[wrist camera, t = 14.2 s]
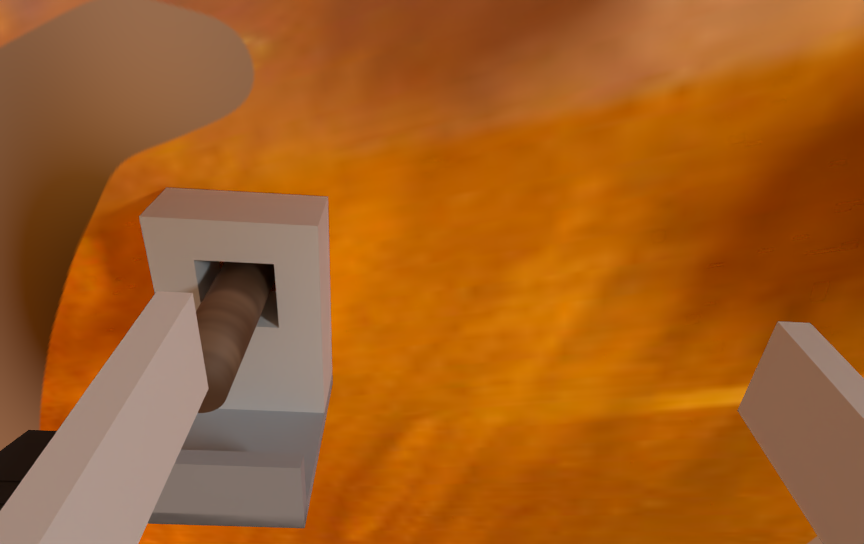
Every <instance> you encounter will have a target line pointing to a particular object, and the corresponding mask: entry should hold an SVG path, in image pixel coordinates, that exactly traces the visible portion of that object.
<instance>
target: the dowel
mask: <svg viewBox="0 0 864 544" xmlns="http://www.w3.org/2000/svg"><path fill="white" fill-rule="evenodd" d="M274 282H275V271H274V264H262V263H242V262H224V264H223V266H222V267H221V269H220V271H219V273H218V274H217V276H216V278H215V279H214V281H213V283H212V285H211V286H210V288H209V290H208V292H207V293H206V295H205V297H204V298H203V300H202V302H201V304H200V305H199V307H198V309H197V311H196V316H197V322H198V328H199V334H200V340H201V346H202V352H203V358H204V364H205V370H206V376H207V382H208V388H209V389H208V391H207V393H206V395H205V398H204V400H203V402H202V404H201V406H200V409H199V411H198V413H207V412H211V411H214V410H216V409H218V408H219V407H221V406H222V405H223V404H224V402H225V401H226V399H227V396H228V394H229V391H230V389H231V386H232V384H233V382H234V379H235V377H236V374H237V372H238V369H239V367H240V365H241V362H242V360H243V357H244V355H245V352H246V350H247V347H248V345H249V343H250V340H251V338H252V335H253V333H254V330H255V328H256V325H257V323H258V321H259V318H260V316H261V313H262V311H263V308H264V306H265V304H266V301H267V299H268V296H269V294H270V291H271V289H272V286H273V284H274Z"/></svg>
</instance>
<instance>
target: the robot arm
mask: <svg viewBox="0 0 864 544" xmlns="http://www.w3.org/2000/svg"><path fill="white" fill-rule="evenodd" d="M208 389H209V388H208V382H207V376H206V370H205V364H204V358H203V352H202V346H201V340H200V334H199V328H198V322H197V316H196V310H195V304H194V298H193V293H184V292H163V291H157V292H156V293H155V294H154V296H153V297H152V299H151V300H150V301H149V303H148V304H147V306H146V307H145V308H144V310H143V311H142V313H141V314H140V315H139V317H138V318H137V320H136V321H135V322H134V324H133V325H132V327H131V328H130V329H129V331H128V332H127V334H126V335H125V337H124V338H123V339H122V341H121V342H120V344H119V345H118V346H117V348H116V349H115V351H114V352H113V353H112V355H111V356H110V358H109V359H108V360H107V362H106V363H105V365H104V366H103V367H102V369H101V370H100V372H99V373H98V374H97V376H96V377H95V379H94V380H93V381H92V383H91V384H90V386H89V387H88V388H87V390H86V391H85V393H84V394H83V395H82V397H81V398H80V400H79V401H78V402H77V404H76V405H75V407H74V408H73V409H72V411H71V412H70V414H69V415H68V417H67V418H66V419H65V421H64V422H63V424H62V425H61V426H60V428H59V429H58V431H39V430H28V431H27V432H25V433H24V434H23V435H21V436H20V437H19V438H17V439H16V440H15V441H13V442H12V443H10V444H9V445H8V446H6V447H5V448H4V449H2V450H1V451H0V544H138V543H139V541H140V538H141V536H142V534H143V532H144V530H145V527H146V525H147V523H148V521H149V519H150V516H151V514H152V512H153V510H154V508H155V505H156V503H157V501H158V499H159V497H160V494H161V492H162V490H163V488H164V486H165V483H166V481H167V479H168V477H169V475H170V472H171V470H172V468H173V466H174V464H175V461H176V459H177V457H178V455H179V453H180V450H181V448H182V446H183V444H184V442H185V439H186V437H187V435H188V433H189V431H190V428H191V426H192V424H193V422H194V420H195V417H196V415H197V413H198V411H199V409H200V406H201V404H202V402H203V400H204V398H205V395H206V393H207V391H208ZM738 412H739V414H740V415H741V417H742V418H743V420H744V421H745V423H746V424H747V426H748V428H749V429H750V431H751V432H752V434H753V435H754V437H755V438H756V440H757V442H758V443H759V445H760V446H761V448H762V449H763V451H764V453H765V454H766V456H767V457H768V459H769V460H770V462H771V463H772V465H773V467H774V468H775V470H776V471H777V473H778V474H779V476H780V478H781V479H782V481H783V482H784V484H785V485H786V487H787V488H788V490H789V492H790V493H791V495H792V496H793V498H794V499H795V501H796V502H797V504H798V506H799V507H800V509H801V510H802V512H803V513H804V515H805V517H806V518H807V520H808V521H809V523H810V524H811V526H812V527H813V529H814V531H815V532H816V534H817V535H818V537H819V538H820V540H821V541H822V543H823V544H864V379H863V377H862V376H861V375H860V374H859V373H858V372H857V371H856V370H855V369H854V368H853V367H852V366H851V365H850V364H849V363H848V362H847V361H846V360H845V359H844V358H843V357H842V356H841V355H840V353H839V352H838V351H837V350H836V349H835V348H834V347H833V346H832V345H831V344H830V343H829V342H828V341H827V340H826V339H825V338H824V337H823V336H822V335H821V334H820V333H819V332H818V331H817V330H816V328H815V327H814V326H813V325H812V324H811V323H801V322H780V321H778V322H777V324H776V326H775V329H774V331H773V333H772V335H771V337H770V340H769V342H768V344H767V346H766V348H765V351H764V353H763V355H762V357H761V360H760V362H759V364H758V366H757V368H756V371H755V373H754V375H753V377H752V379H751V382H750V384H749V386H748V388H747V391H746V393H745V395H744V397H743V399H742V402H741V404H740V406H739V408H738Z"/></svg>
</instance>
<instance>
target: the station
mask: <svg viewBox="0 0 864 544" xmlns="http://www.w3.org/2000/svg"><path fill="white" fill-rule="evenodd" d="M139 219H140V224H141V229H142V234H143V239H144V244H145V248H146V253H147V258H148V263H149V268H150V273H151V278H152V283H153V287H154V292H155V293H156V292H157V291H163V292H184V293H193V298H194V304H195V310H196V311H197V309H198V307H199V305H200V304H201V302H202V300H203V298H204V297H205V295H206V293H207V292H208V290H209V288H210V286H211V285H212V283H213V281H214V279H215V278H216V276H217V274H218V273H219V271H220V261H223V262H242V263H262V264H274V271H275V284H276V291H270V294H269V296H268V299H267V301H266V304H265V306H264V308H263V311H262V313H261V316H260V318H259V321H258V323H257V325H256V328H255V330H254V333H253V335H252V338H251V340H250V343H249V345H248V347H247V350H246V352H245V355H244V357H243V360H242V362H241V365H240V367H239V369H238V372H237V374H236V377H235V379H234V382H233V384H232V386H231V389H230V391H229V394H228V396H227V399H226V401H225V402H224V404H223V405H222V406H221V407H219V408H218V409H216V410H214V411H211V412H207V413H197V415H196V417H195V420H194V422H193V424H192V426H191V428H190V431H189V433H188V435H187V437H186V439H185V442H184V444H183V446H182V448H181V450H180V453H179V455H178V457H177V459H176V461H175V464H174V466H173V468H172V470H171V472H170V475H169V477H168V479H167V481H166V483H165V486H164V488H163V490H162V492H161V494H160V497H159V499H158V501H157V503H156V505H155V508H154V510H153V512H152V514H151V516H150V519H149V521H148V523H152V524H185V525H218V526H250V527H283V528H305V523H306V518H307V513H308V508H309V502H310V497H311V492H312V487H313V482H314V476H315V471H316V466H317V461H318V456H319V451H320V445H321V440H322V435H323V430H324V425H325V420H326V414H327V409H328V404H329V399H330V394H331V389H332V343H331V301H330V259H329V218H328V197H326V196H308V195H291V194H273V193H255V192H238V191H220V190H202V189H185V188H167V187H166V188H165V190H164V191H163V192H162V193H161V194H160V195H159V196H158V197H157V198H156V199H155V200H154V201H153V202H152V203H151V204H150V205H149V206H148V207H147V208H146V210H145V211H144V212H143V213H142V214H141V215H140V216H139Z"/></svg>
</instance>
